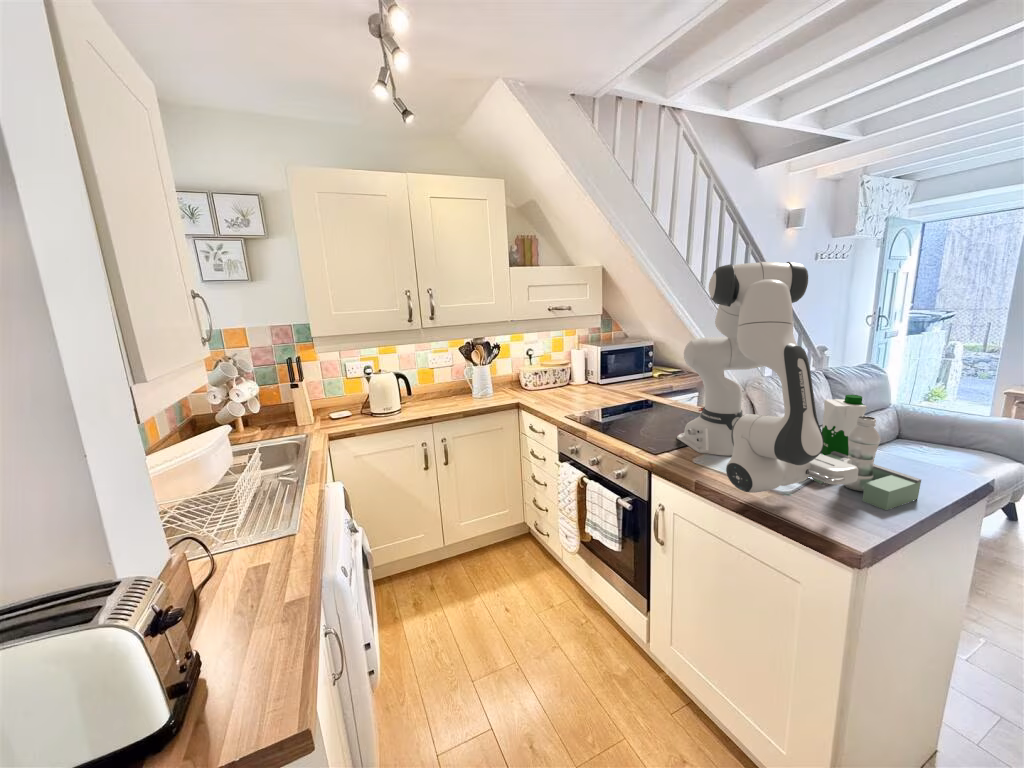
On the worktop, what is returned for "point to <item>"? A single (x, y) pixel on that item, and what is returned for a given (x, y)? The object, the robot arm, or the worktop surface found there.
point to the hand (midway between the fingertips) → (827, 454)
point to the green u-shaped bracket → (886, 486)
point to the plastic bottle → (863, 450)
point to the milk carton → (840, 422)
